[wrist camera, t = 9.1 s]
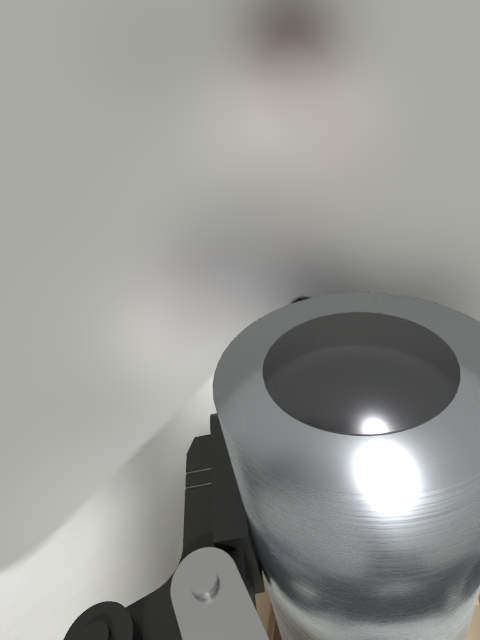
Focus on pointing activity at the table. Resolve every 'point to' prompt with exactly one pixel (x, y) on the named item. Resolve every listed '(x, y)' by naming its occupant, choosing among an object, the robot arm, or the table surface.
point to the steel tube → (359, 463)
